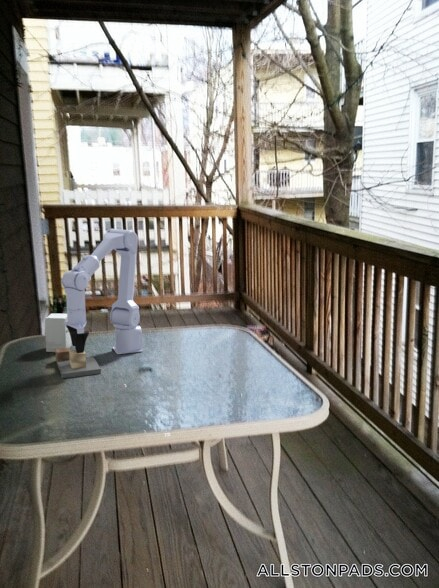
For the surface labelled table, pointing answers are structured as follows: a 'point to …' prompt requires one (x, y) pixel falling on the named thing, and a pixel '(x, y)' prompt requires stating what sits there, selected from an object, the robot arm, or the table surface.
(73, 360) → the maple block
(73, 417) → the table surface
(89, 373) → the plate
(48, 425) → the table surface
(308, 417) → the table surface
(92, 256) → the robot arm
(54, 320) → the supplement box
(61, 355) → the walnut block
